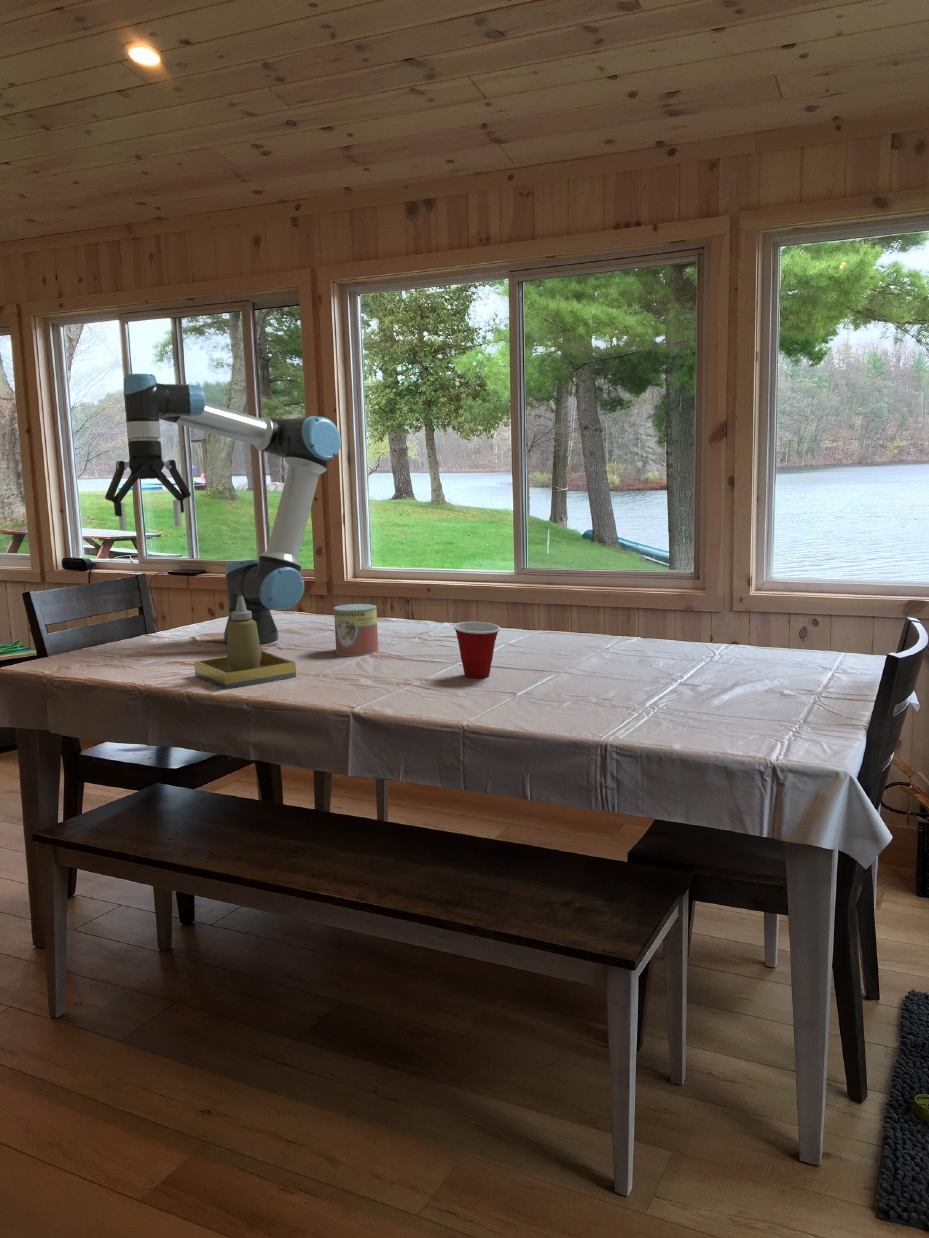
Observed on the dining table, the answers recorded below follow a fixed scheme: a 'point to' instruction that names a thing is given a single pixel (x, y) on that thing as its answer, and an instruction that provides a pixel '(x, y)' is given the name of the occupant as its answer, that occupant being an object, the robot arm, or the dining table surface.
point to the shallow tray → (245, 671)
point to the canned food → (356, 629)
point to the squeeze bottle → (242, 639)
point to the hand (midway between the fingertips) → (151, 528)
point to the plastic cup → (476, 647)
